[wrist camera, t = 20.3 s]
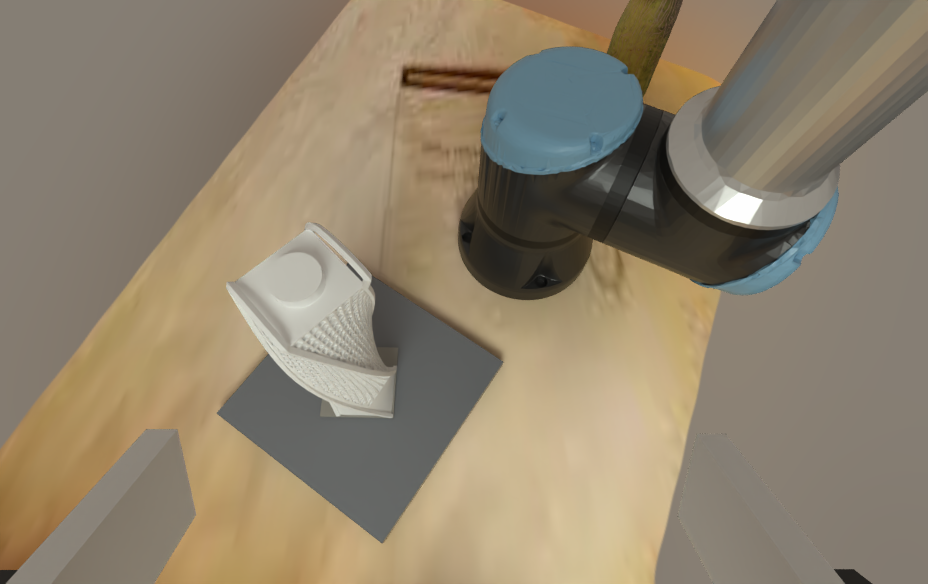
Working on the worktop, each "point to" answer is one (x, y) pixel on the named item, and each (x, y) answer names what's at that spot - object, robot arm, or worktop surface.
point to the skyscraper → (320, 324)
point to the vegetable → (643, 36)
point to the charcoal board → (371, 439)
